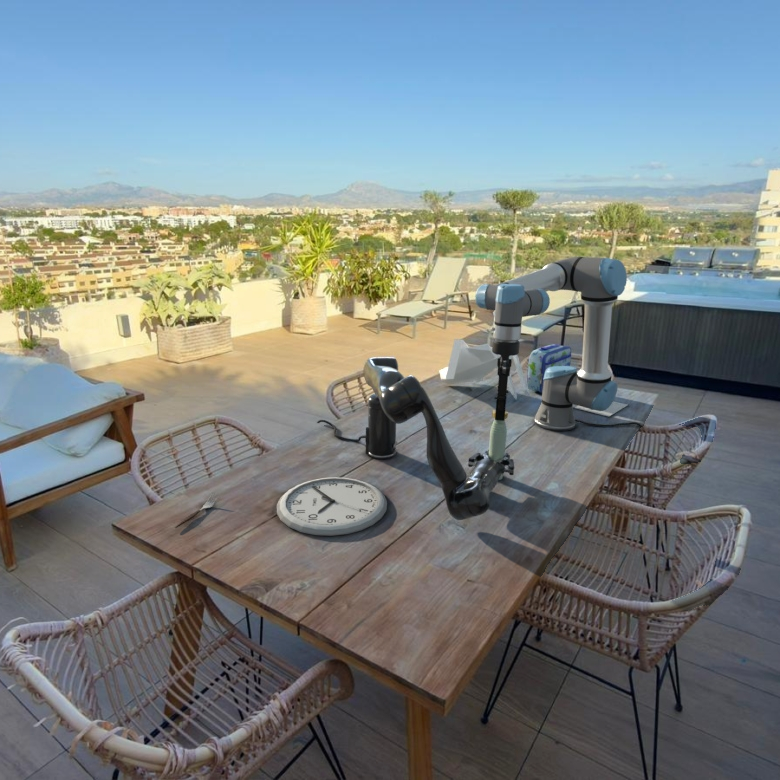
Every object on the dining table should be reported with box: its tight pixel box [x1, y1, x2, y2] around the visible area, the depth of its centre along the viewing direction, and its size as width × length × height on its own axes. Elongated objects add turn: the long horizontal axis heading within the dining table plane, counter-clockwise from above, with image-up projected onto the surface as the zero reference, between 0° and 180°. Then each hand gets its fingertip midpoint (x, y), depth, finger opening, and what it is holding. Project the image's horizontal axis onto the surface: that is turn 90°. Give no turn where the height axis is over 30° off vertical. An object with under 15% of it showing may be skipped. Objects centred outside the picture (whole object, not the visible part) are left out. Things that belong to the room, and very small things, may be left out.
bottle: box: [488, 418, 508, 481], centre depth 158 cm, size 5×5×21 cm
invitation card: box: [573, 400, 629, 418], centre depth 226 cm, size 21×1×15 cm
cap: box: [492, 409, 509, 420], centre depth 155 cm, size 4×4×2 cm
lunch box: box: [526, 343, 572, 394], centre depth 247 cm, size 26×11×21 cm, turn 134°
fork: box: [174, 492, 220, 529], centre depth 137 cm, size 3×16×2 cm, turn 160°
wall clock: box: [276, 476, 388, 537], centre depth 142 cm, size 30×2×30 cm
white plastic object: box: [438, 310, 531, 400], centre depth 245 cm, size 37×45×31 cm
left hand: (498, 454), depth 161 cm, fingers closed on bottle, 4 cm apart
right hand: (499, 416), depth 155 cm, fingers closed on cap, 4 cm apart
